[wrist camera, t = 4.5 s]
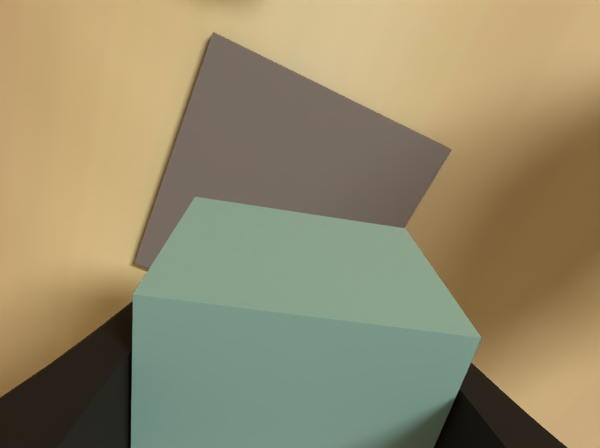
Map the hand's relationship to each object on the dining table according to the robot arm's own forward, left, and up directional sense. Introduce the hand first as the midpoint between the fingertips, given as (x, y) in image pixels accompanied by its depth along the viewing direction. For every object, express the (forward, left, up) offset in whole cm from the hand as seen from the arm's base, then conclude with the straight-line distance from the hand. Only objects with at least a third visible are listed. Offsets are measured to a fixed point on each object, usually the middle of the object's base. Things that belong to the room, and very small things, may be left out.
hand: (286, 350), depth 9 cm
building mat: (0, 0, -9) cm, 9 cm away
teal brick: (0, 0, -2) cm, 2 cm away
